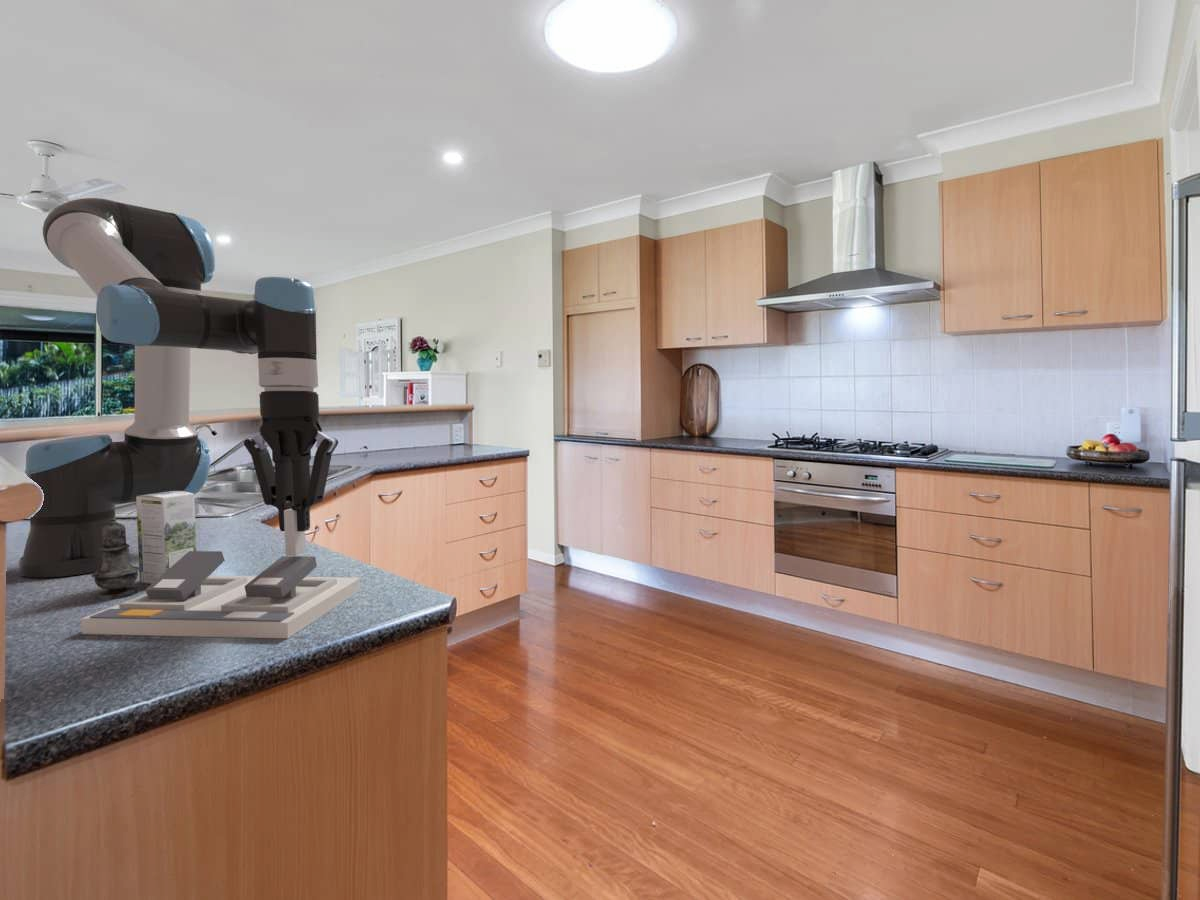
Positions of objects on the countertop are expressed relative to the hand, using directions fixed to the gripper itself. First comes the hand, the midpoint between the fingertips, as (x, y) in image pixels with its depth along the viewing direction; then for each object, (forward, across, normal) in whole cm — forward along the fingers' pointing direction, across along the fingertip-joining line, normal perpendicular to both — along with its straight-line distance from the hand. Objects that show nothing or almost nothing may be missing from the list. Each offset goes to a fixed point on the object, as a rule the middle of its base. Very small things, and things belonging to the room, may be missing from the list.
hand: (295, 553), depth 90 cm
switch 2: (+2, 0, -4) cm, 4 cm away
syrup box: (+8, -28, +11) cm, 31 cm away
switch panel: (+7, -7, -4) cm, 11 cm away
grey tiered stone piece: (+8, -30, +3) cm, 31 cm away
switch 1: (+2, -14, -4) cm, 15 cm away
